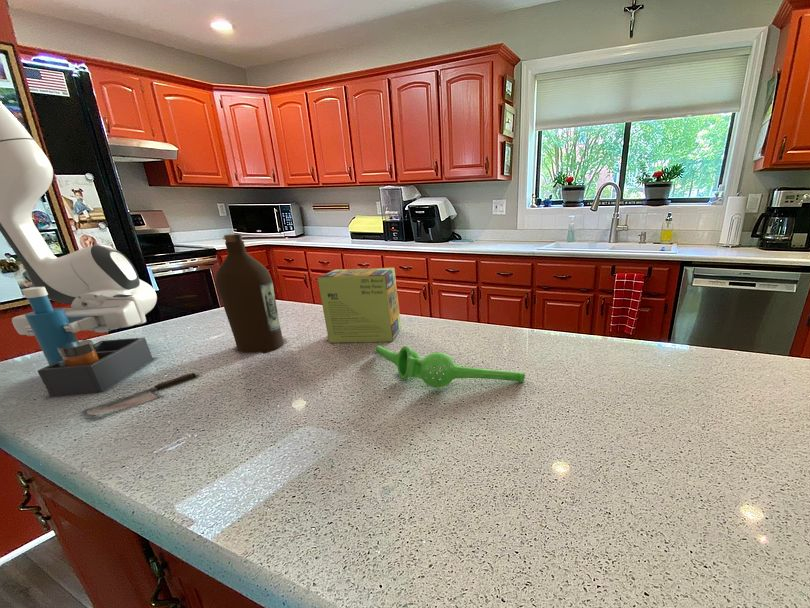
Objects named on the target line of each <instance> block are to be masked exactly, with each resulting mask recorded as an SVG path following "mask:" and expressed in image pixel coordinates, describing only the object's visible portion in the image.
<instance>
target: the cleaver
mask: <svg viewBox="0 0 810 608" xmlns="http://www.w3.org/2000/svg"><path fill="white" fill-rule="evenodd" d="M196 378H197V375H196V373H194V372H190V373H187V374H183V375H181V376H178V377H175V378H172V379H169V380H167V381H162V382H160V383H157V384H156V385H154V387H152V388H149V389H146V390H144V391H140V392H138V393H135V394H132V395H129V396H126V397H124V398H121V399H118V400H115V401H113V402H109V403H107V404H104V405H101V406H98V407H96V408H92V409H89V410H87V411H86V414H88V415H95V416H96V415H101V414H104V413H109V412H112V411H116V410H121V409H124V408H128V407H132V406H137V405H141V404H145V403H147V402H149V401H153V400H155V399H158V396H157V395H155V394H153V392H156V391H160V390H163V389H167V388H170V387H172V386H175V385H178V384H181V383H184V382H188V381H191V380H193V379H196Z"/></svg>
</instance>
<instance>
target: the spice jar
mask: <svg viewBox="0 0 810 608" xmlns="http://www.w3.org/2000/svg"><path fill="white" fill-rule="evenodd" d="M94 344H95V343H94V342H93V340H92V339H81V340H78V341H74V342H69V343H66V344H63V345H60V346H58V347H57V349H58V351H59V353H60V355H61V356H62V358H63V360H64V362H65V364H66V366H67V367H70V366H82V365H90V364H92V363H94V362H96V361H98V360H99V357H98V355H97V353H96V350H95V346H94Z"/></svg>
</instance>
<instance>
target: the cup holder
mask: <svg viewBox="0 0 810 608" xmlns="http://www.w3.org/2000/svg"><path fill="white" fill-rule="evenodd" d="M93 344H94V346H95V350H96V353H97V355H98V357H99V360H98V361H96V362H94V363H92V364H90V365H82V366H70V367H67V366H66V364H65V362H64V360H63V359H61V360H59V361H57V362H55V363H53V364H51V365H49V364H48V365H46V366H44V367H42V368H40V369H38V370H37V374H38V376H39V377H40V379H41V381H42V383H43V385H44V387H45V389H46V392H47V393H48V395H49V397H50V398H52V397H63V396H73V395H74V396H75V395H84V394H85V395H86V394H95V393H103V392H105V391H106V390H108V389H110V388H111V387H112V386H114V385H115V384H117V383H119V382H121V381H122V380H124V379H125V378H127V377H128V376H130V375H131V374H133V373H134V372H136V371H138V370H139V369H141V368H143V367H145V366H146V365H147V364H149V363H150V362H152V361H153V360H154V358H153V355H152V352H151V350H150V348H149V345H148V342H147V339H146V337H133V338H118V339H106V340H100V341H97V342H96V343H93Z"/></svg>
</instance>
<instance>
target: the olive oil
mask: <svg viewBox="0 0 810 608" xmlns="http://www.w3.org/2000/svg"><path fill="white" fill-rule="evenodd" d="M223 238H224V240H225V242H224V244H225V248H226V251H227V255H226V257H225V258H224V260H223V261H222V263H221V264H220V265H219V267H218V268H217V271H216V272H215V287H216V289H217V292H218V295H219V297H220V300H221V303H222V306H223V308H224V311H225V315H226V317H227V321H228V323H229V326H230V329H231V332H232V335H233V339H234V342H235V345H236V348H237V351H238V352H240V353H248V354H249V353H262V354H264V353H268V352H272V351H275V350H277V349H279V348H281V347H283V345H284V339H283V338H284V337H283V333H282V328H281V323H280V317H279V313H278V312H279V311H278V307H277V300H276V294H275V289H274V283H273V279H272V276H271V274H270V272H269V270H268V268H267V267H265V265H263V264H262V263H261V262H259V261H258V260H257V259H256V258H254V257H253V256H251V255H250V254H249V253H248V252H247V250H246V246H245V241H244V240H243V237H242V234H240V233H233V234H232V233H231V234H224V235H223Z"/></svg>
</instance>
